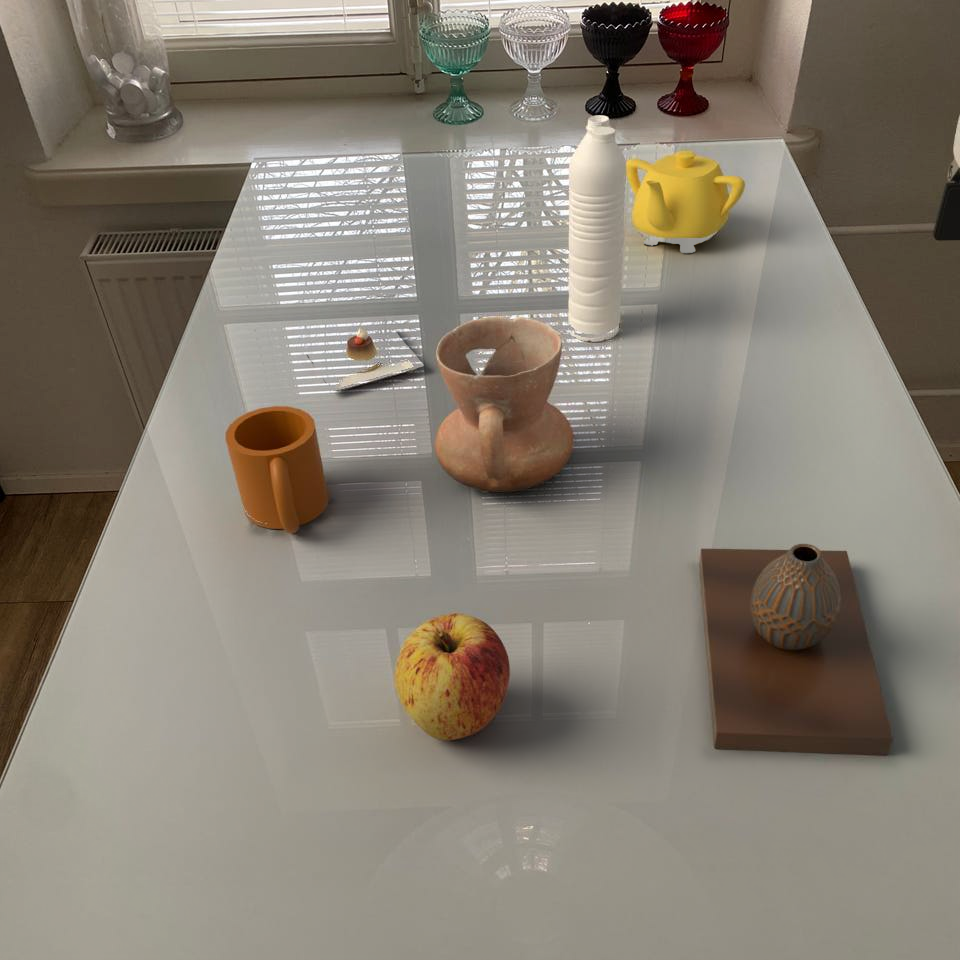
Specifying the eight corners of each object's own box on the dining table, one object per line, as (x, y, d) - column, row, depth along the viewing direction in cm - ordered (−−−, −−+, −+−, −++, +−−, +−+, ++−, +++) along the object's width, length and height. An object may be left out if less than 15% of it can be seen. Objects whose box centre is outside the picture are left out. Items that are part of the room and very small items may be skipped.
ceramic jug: (454, 419, 113) (443, 301, 103) (581, 425, 110) (583, 304, 100) (419, 517, 100) (403, 393, 90) (562, 525, 98) (561, 399, 88)
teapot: (613, 228, 147) (615, 143, 138) (705, 214, 148) (713, 130, 140) (643, 267, 137) (647, 178, 129) (741, 252, 138) (752, 163, 130)
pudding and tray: (332, 400, 117) (325, 363, 114) (303, 356, 125) (296, 320, 122) (426, 373, 120) (422, 337, 117) (391, 332, 128) (387, 297, 125)
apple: (502, 769, 77) (495, 682, 70) (390, 757, 79) (372, 671, 71) (519, 683, 83) (515, 596, 76) (415, 674, 85) (401, 587, 78)
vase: (846, 629, 83) (869, 548, 76) (803, 676, 79) (823, 595, 73) (773, 594, 86) (789, 514, 80) (729, 637, 83) (742, 557, 77)
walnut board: (698, 564, 93) (700, 548, 91) (842, 567, 91) (847, 550, 90) (714, 749, 77) (716, 732, 76) (887, 755, 76) (893, 739, 74)
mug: (235, 553, 98) (212, 478, 92) (250, 481, 107) (230, 408, 100) (325, 546, 98) (308, 471, 92) (333, 475, 106) (318, 402, 100)
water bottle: (565, 320, 128) (565, 110, 110) (616, 316, 128) (624, 105, 110) (573, 353, 121) (574, 136, 104) (626, 349, 121) (636, 132, 104)
